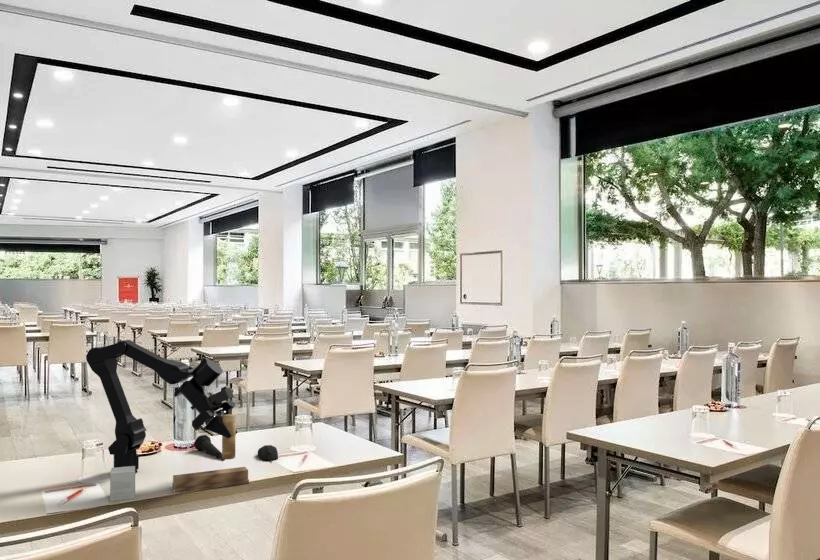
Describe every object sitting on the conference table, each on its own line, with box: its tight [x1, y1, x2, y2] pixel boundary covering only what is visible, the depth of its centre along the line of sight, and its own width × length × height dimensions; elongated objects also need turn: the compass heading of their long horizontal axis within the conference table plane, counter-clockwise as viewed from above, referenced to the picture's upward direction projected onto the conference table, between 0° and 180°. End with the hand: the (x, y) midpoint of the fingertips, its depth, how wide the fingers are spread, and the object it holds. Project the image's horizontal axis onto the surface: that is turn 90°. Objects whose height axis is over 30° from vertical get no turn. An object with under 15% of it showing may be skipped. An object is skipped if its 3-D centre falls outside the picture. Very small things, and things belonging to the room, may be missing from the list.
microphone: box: [193, 434, 226, 461], centre depth 221 cm, size 6×6×20 cm
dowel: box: [221, 413, 237, 460], centre depth 195 cm, size 4×4×12 cm
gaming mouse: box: [257, 444, 279, 464], centre depth 217 cm, size 6×15×4 cm, turn 19°
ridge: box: [172, 466, 250, 493], centre depth 187 cm, size 20×6×4 cm, turn 117°
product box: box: [109, 466, 136, 502], centre depth 177 cm, size 6×6×7 cm
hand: (233, 435), depth 195 cm, fingers closed on dowel, 4 cm apart
